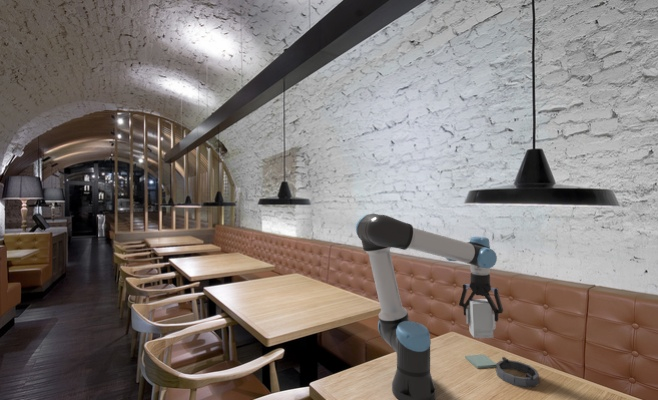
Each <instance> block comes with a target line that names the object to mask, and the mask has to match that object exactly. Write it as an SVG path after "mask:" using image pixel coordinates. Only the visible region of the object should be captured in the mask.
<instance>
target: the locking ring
mask: <svg viewBox="0 0 658 400" xmlns="http://www.w3.org/2000/svg"><path fill="white" fill-rule="evenodd" d="M495 363H496V367H495V371H496V372H495V373H496V375H497V377H498V378H499V379H500V380H502V381H503V382H505V383H507V384H510V385H513V386H515V387H520V388H521V387H522V388H536V387H537V386H538V385H539V384H540V374H539V372H538V370H537V369H536V368H534V367H533V366H531V365H529V364H527V363H524V362H522V361H518V360H510V359H508V358H507V357H505V356H503V357H502V359H501V360H500V361H497V362H495ZM505 370H516V371H520V372H523V373H525V377H522V376H516V375H513V374H511V373H508V372H506V371H505Z"/></svg>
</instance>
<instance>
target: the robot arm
mask: <svg viewBox="0 0 658 400" xmlns="http://www.w3.org/2000/svg"><path fill="white" fill-rule="evenodd" d="M355 232H356V235H357V237H358V239H359V240H360V241H361V245H362V249H363V251H364V252H365V253H366V254H367V255H368V259H369V264H370V266H371V272H372V276H373V280H374V285H375V289H376V293H377V299H378V303H379V307H380V311H379V313H378V319H379V320H378V321H377V330H378V333H379V335H380V336H381V339H383V340H384V342H385V343H387V344H388V345H389V346H390V348H391V349H392V350H393V351H394V352H395V353H396V371H395V373H394V376H393V380H392V381H391V391H392V394H393V396H394V397H395V398H396V399H397V400H436V396H437V395H436V393H437V391H436V387H435V383H434V380H433V377H432V374H431V344H432V343H431V341H432V340H431V336H430V335H431V334H430V331H429V329H428V328H427V326H425V325H424V324H422V323H420V322H417V321H413V320H410V317H409V313H408V312H409V311H408V310H407V308H405V307H403V304H402V300H401V295H400V291H399V287H398V286H399V285H398V282H397V277H396V273H395V268H394V264H393V263H394V262H393V259H392V258H393V257H392V254H391V249H399V250H402V251H406V250H407V249H410V250H415V251H419V252H422V253H427V254H431V255H433V256H434V255H435V256H438V257H442V258H445V260H446V261H448V262H461V263H465V264H468V265H469V266H470V272H471V273H470V283H469V284H468V283H463V285H462V292H461V295H460V299H459V303H458V306H459V307H462V308H463V316H465V321H466V322H465V325H469V302H470V300H472V299H473V298H474V297H475V295H476V296H481V297H484V299H487V301H488V302H489V304H490V306H491V308H492V309H493V314H492V325H493V331H494V330H496V328H497V325H496V324H497V323H496V322H499V314H503V312H504V308H503V305H502V300H501V298H500V295H499V288H498V287H492V286H491V275H490V273H491V269H492V268H493V267H494V266H495V265H496V264H497V259H498V256H497V253H496V252H495V251H494V249H492V248H491V245H490V244H491V243H490V239H489V237H485V236H471V237H470V239H469V241H467V242H465V241H462V240H458V239H455V238H451V237H447V236H444V235H441V234H437V233H433V232H430V231H427V230H426V231H425V230H424V229H423V230H422V229H419V228H416V227H414V226H413V225H412V224H411V223H408V222H404V221H401V220H399V219H397V218H394V217H392V216H389V215H386V214H377V213H368V214H364V215H363V216H360V218H359V220H357V222H356V225H355ZM469 288H470V290H471V294H470V295H469V297H468V298H467V300H466V296H467V292H468V289H469ZM490 292H492V293H493V295H494V299H495V302H496V304H495V302H494V300H493V298H492V297H491V294H490ZM465 300H466V302H465Z"/></svg>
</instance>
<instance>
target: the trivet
mask: <svg viewBox="0 0 658 400" xmlns="http://www.w3.org/2000/svg"><path fill="white" fill-rule="evenodd" d="M464 359H466V361H468V362H469V363H471V365H472V366H474V367H475V368H476V369H488V368H496V363H497V362H495V361H494V360H492V359H491V358H489V357H488V356H487V355H485V354H483V353H481V354H470V355H468V354H467V355H465V356H464Z"/></svg>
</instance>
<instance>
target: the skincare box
mask: <svg viewBox="0 0 658 400" xmlns="http://www.w3.org/2000/svg"><path fill="white" fill-rule="evenodd" d="M468 307H469V324H468V326H469V327H468V328H469V333H470V334H471V336H472V337H473V338H474V339H475V338H477V339H479V338H481V339H482V338H483V339H484V338H485V339H487V338H488V339H494V330H493V325H492V314H493V312H494V311H493V309H492V308H491V306H490V304H489V302H488V301H487V299H486V298H480V299H475V298H474V299H473V298H472V300H470V302H469V305H468Z"/></svg>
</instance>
